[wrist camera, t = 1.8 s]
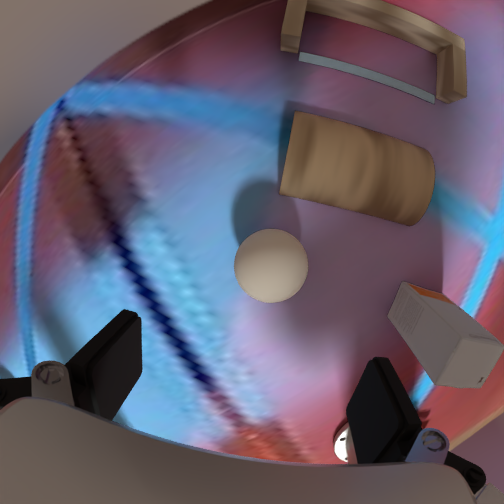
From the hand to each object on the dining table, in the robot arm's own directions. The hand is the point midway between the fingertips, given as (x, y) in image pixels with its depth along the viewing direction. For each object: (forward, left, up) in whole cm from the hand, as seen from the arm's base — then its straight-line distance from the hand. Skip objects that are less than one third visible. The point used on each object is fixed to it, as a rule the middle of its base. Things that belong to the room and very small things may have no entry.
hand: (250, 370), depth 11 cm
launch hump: (-7, -10, -22) cm, 24 cm away
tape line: (-7, -19, -17) cm, 26 cm away
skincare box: (-17, +2, -17) cm, 24 cm away
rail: (-7, -23, -17) cm, 29 cm away
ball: (-1, 0, -14) cm, 14 cm away
